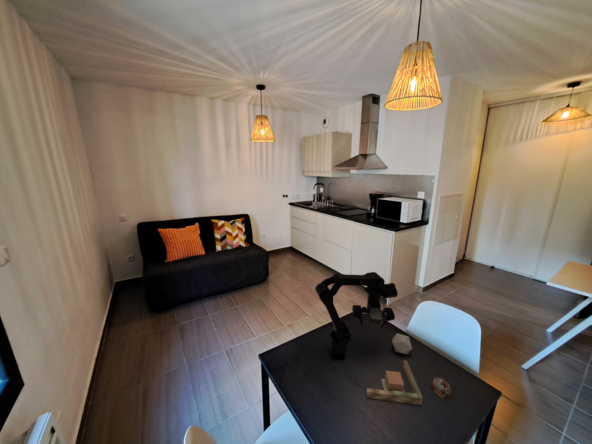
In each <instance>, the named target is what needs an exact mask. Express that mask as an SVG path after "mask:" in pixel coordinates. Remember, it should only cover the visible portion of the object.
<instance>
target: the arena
mask: <svg viewBox="0 0 592 444" xmlns="http://www.w3.org/2000/svg"><path fill="white" fill-rule="evenodd" d="M402 367H403V370H404V374H405V375H406V378H407V381H408V383H409V386H410V389H411V391H412V392H408V391H407V392H406V391H405V389H403V392H401V391H393V390H392V391H387V388H386V384H385V378H381V379H380V380H381V384H382V385H381V386H382V388H383V389H376V388H369V387H366V398H367V399H374V400H381V401H387V402H388V401H389V402H395V403H396V402H397V403H404V404H410V405H419V406H422V403H423V396H422V393H421V391H420V389H419V386H418V383H417V381H416V378H415V376H414V374H413V372H412V369H411V366H410V364H409V362H408V360H406V359H405V360H404V359H403V363H402Z"/></svg>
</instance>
